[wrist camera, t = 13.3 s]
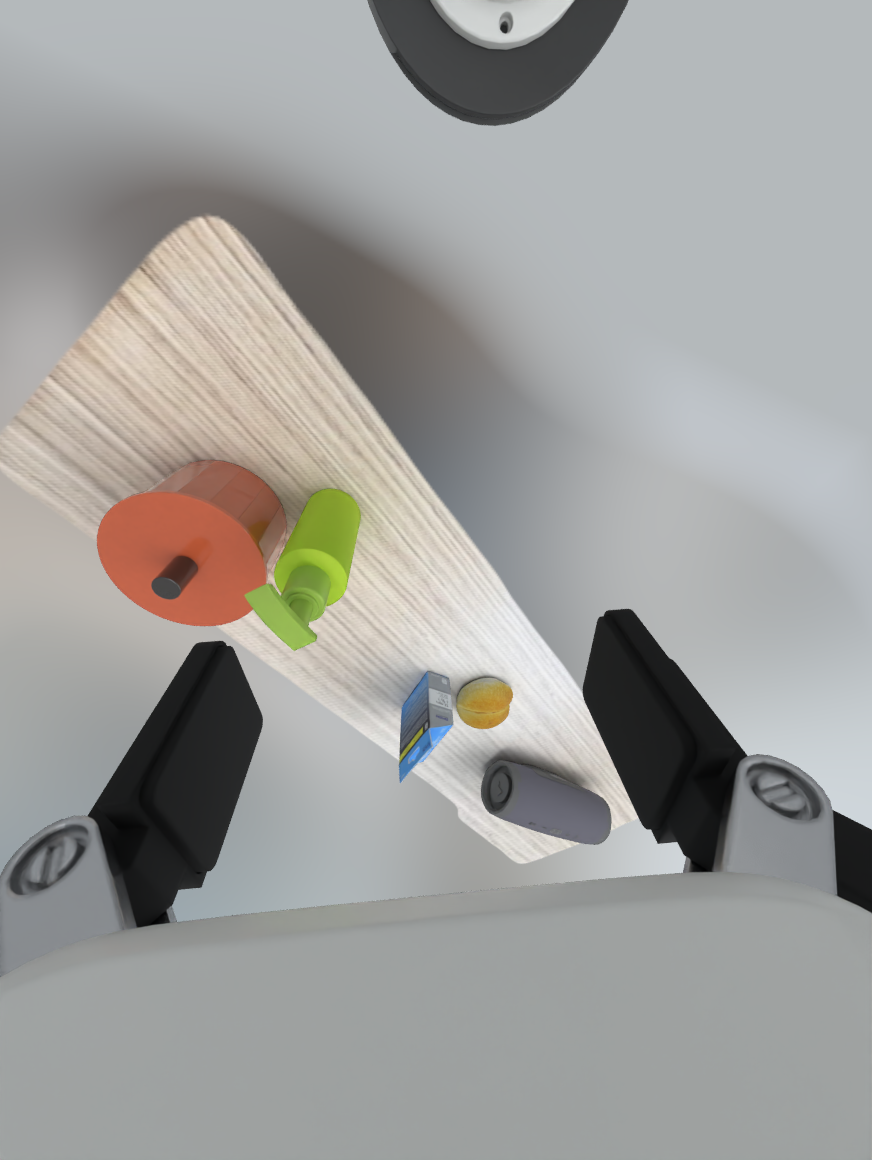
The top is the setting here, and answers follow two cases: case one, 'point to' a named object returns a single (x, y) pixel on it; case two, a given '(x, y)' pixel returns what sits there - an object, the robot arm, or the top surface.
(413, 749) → the label tape box
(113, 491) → the top surface
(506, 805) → the bluetooth speaker
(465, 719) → the bread roll
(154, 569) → the pot lid
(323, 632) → the top surface
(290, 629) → the soap dispenser
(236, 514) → the pot
